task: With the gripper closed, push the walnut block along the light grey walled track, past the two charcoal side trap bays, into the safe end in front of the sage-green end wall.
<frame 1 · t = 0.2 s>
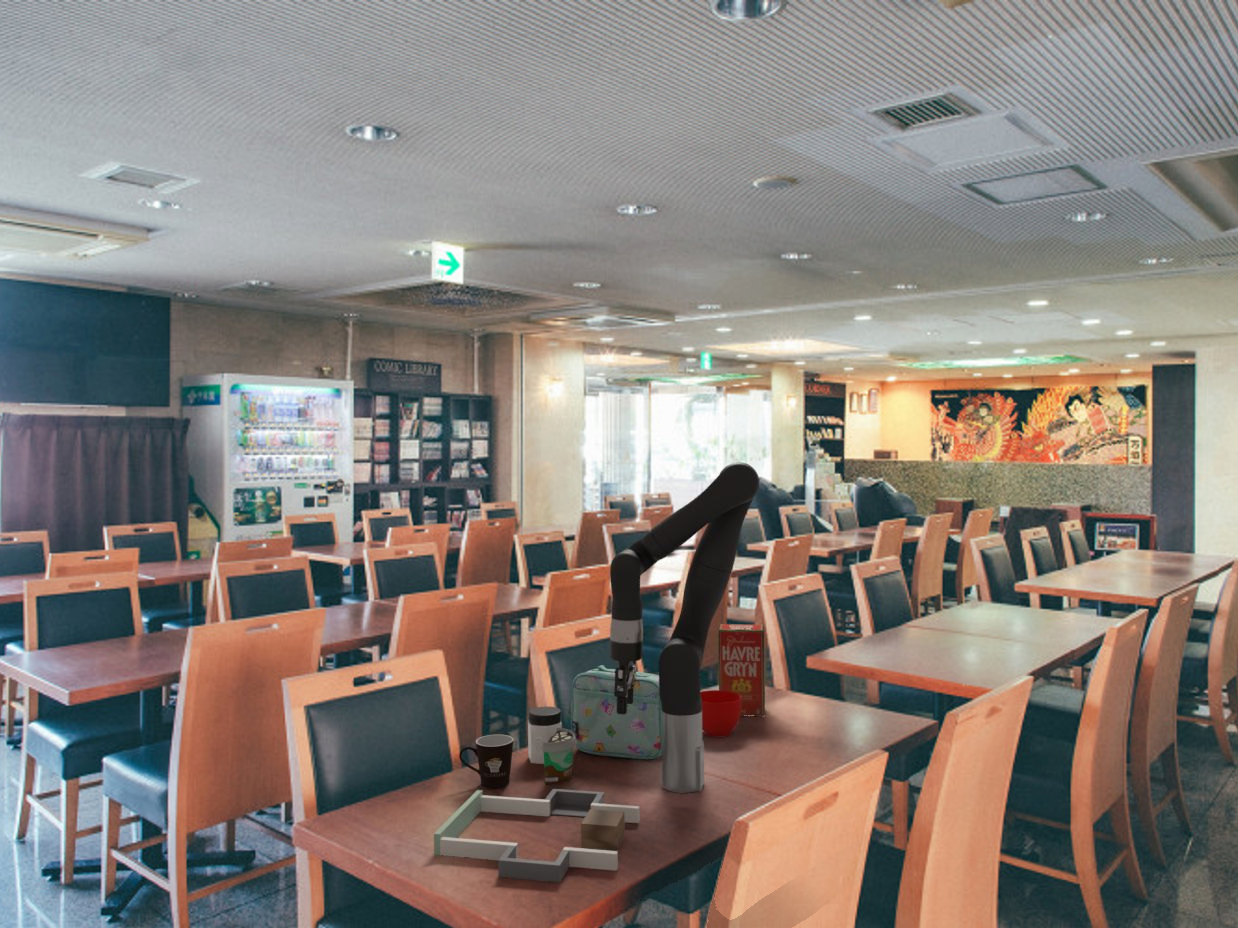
hand: (625, 708, 204), 17 cm above the table, tool pointing down, fingers open, 8 cm apart
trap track: (539, 836, 176), on the table
ceramic cup: (710, 733, 241), on the table
walnut block: (603, 843, 173), on the table
food container: (563, 778, 208), on the table
lunch box: (619, 753, 225), on the table
jar: (545, 759, 221), on the table
coffee mug: (489, 783, 205), on the table
food packaging: (742, 712, 260), on the table
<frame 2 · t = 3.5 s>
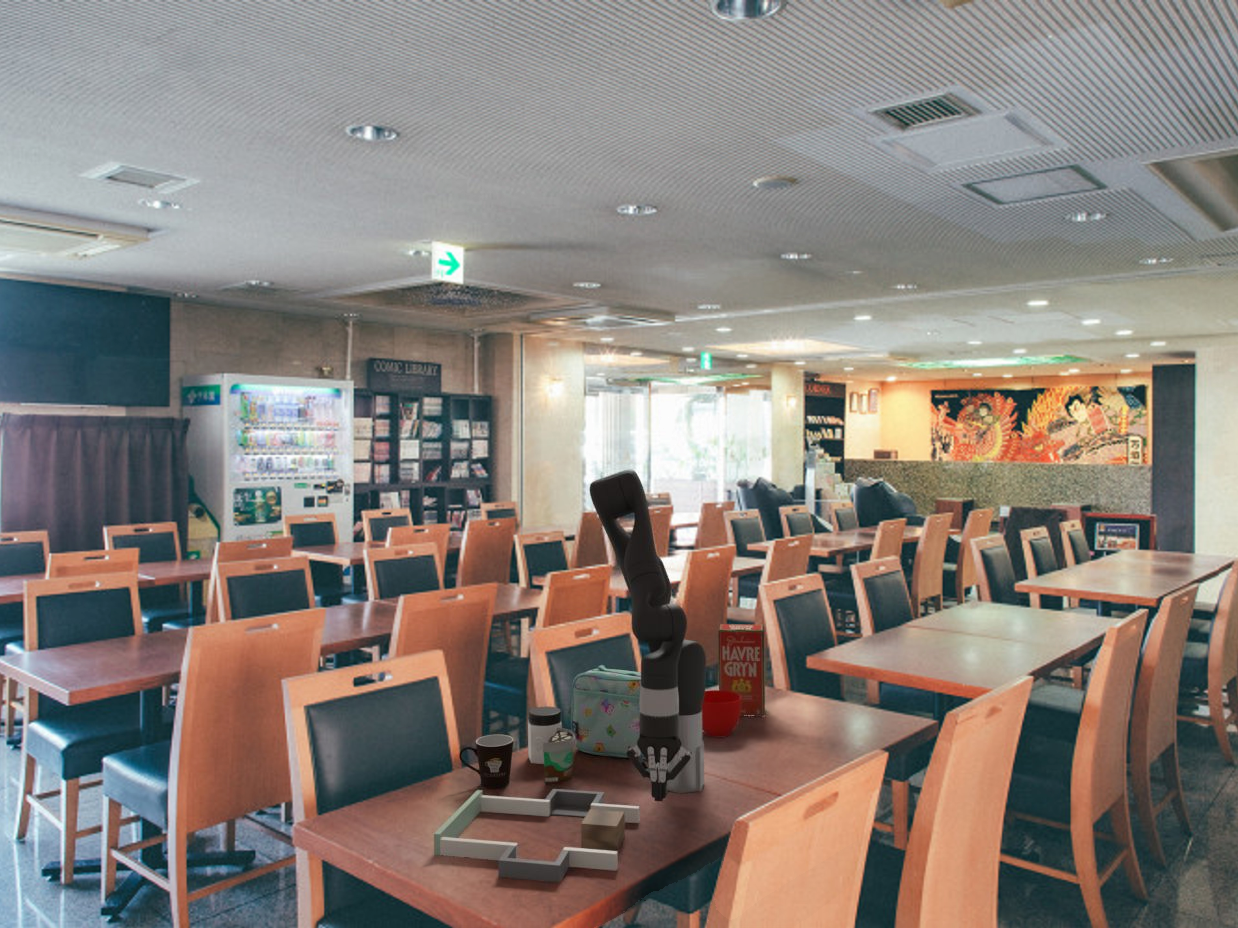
hand: (659, 799, 170), 9 cm above the table, tool pointing down, fingers closed
nothing on the table moved.
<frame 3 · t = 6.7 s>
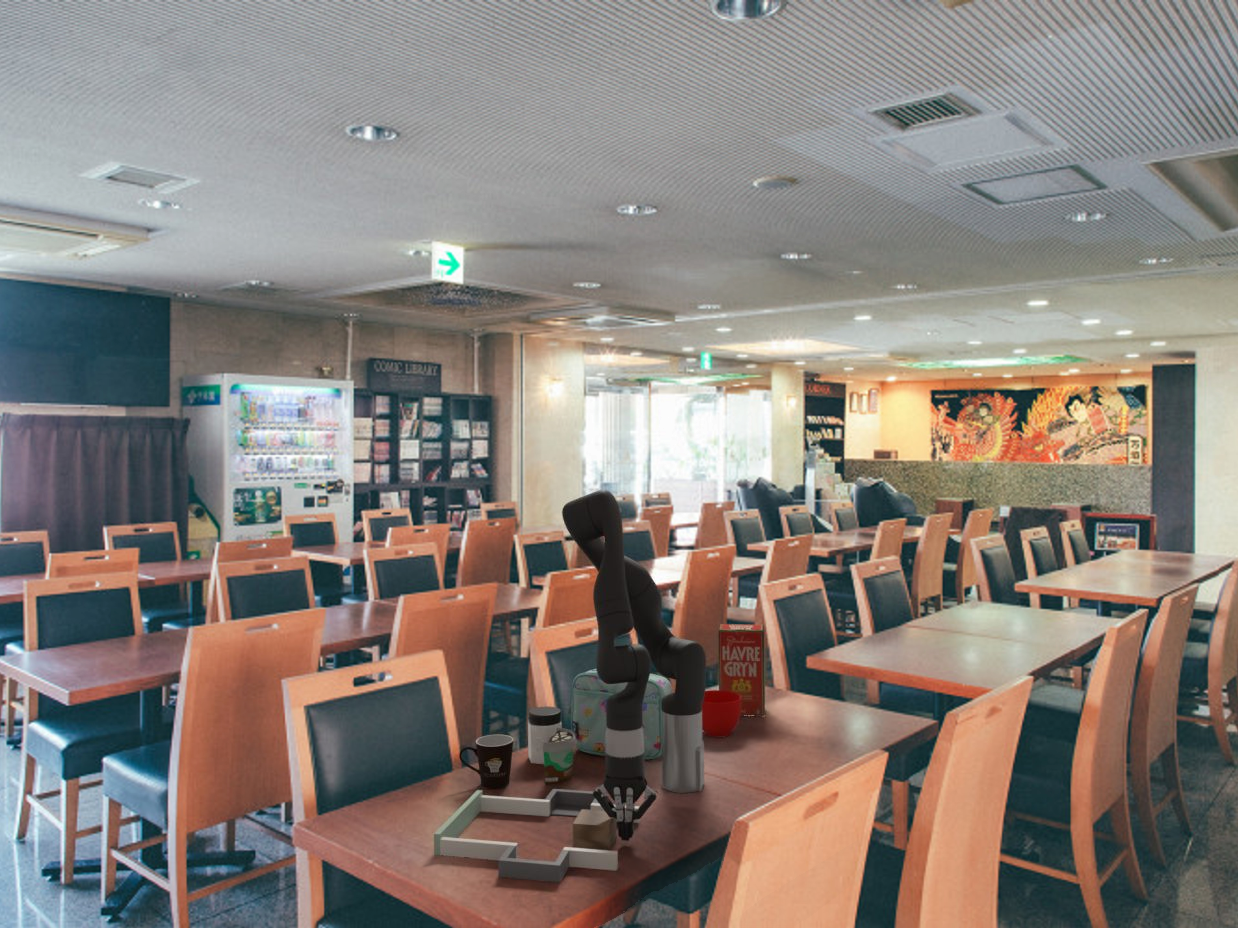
hand: (625, 838, 172), 1 cm above the table, tool pointing down, fingers closed
walnut block: (595, 842, 173), on the table, touching gripper
everything else where it was.
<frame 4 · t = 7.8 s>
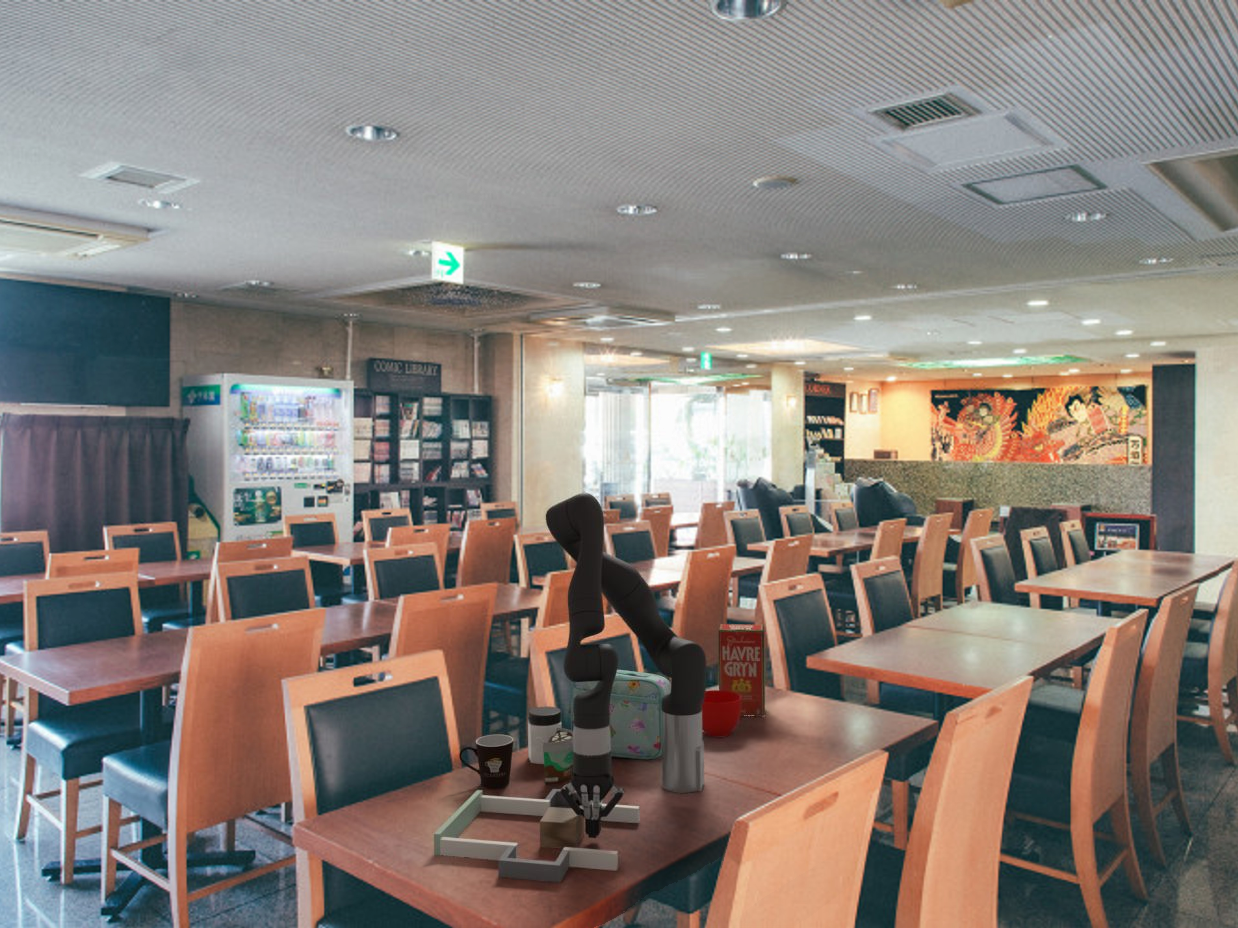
hand: (593, 836, 173), 1 cm above the table, tool pointing down, fingers closed
walnut block: (562, 840, 174), on the table, touching gripper
everything else where it was.
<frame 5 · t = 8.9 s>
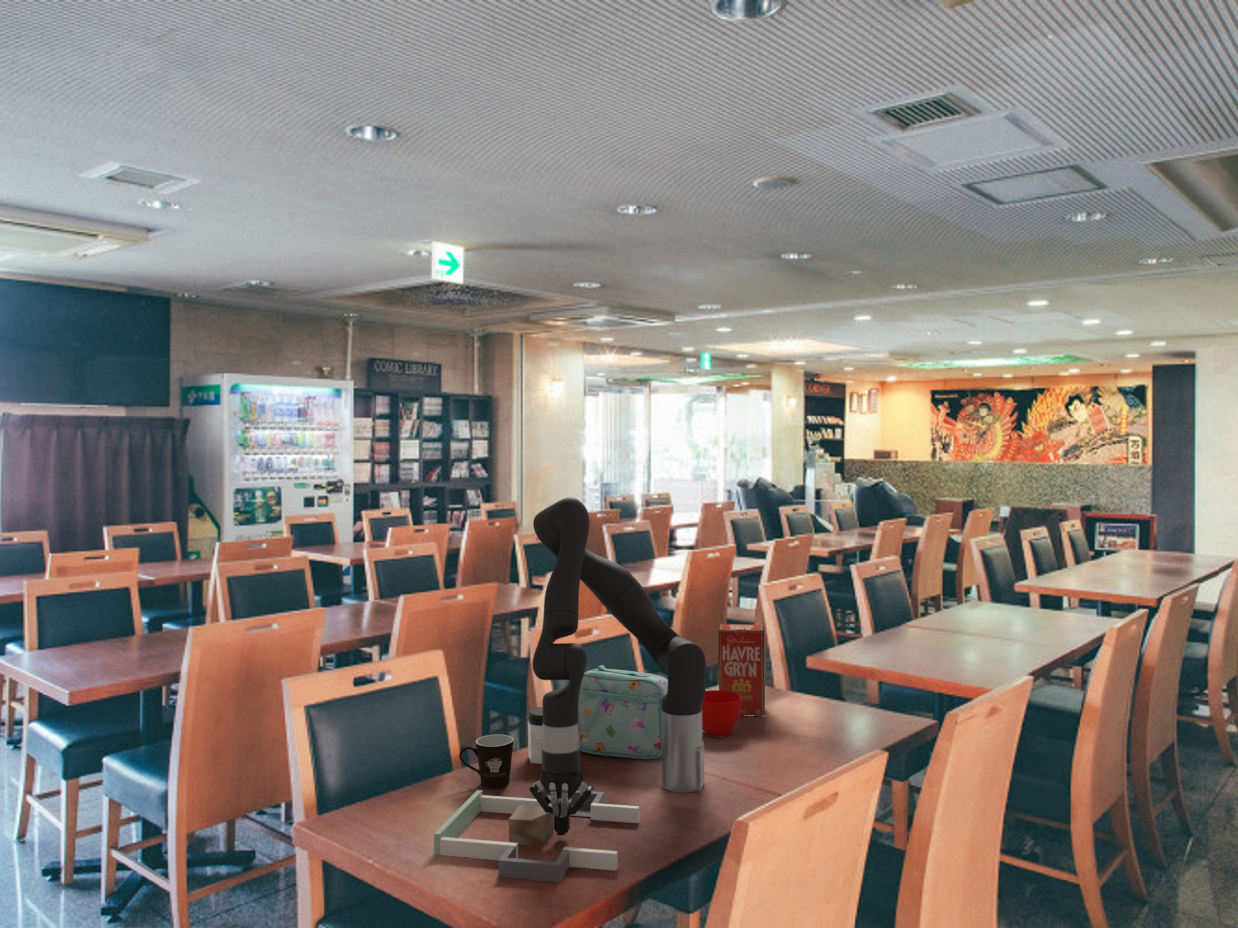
hand: (561, 833, 174), 1 cm above the table, tool pointing down, fingers closed
walnut block: (531, 838, 175), on the table, touching gripper
everything else where it was.
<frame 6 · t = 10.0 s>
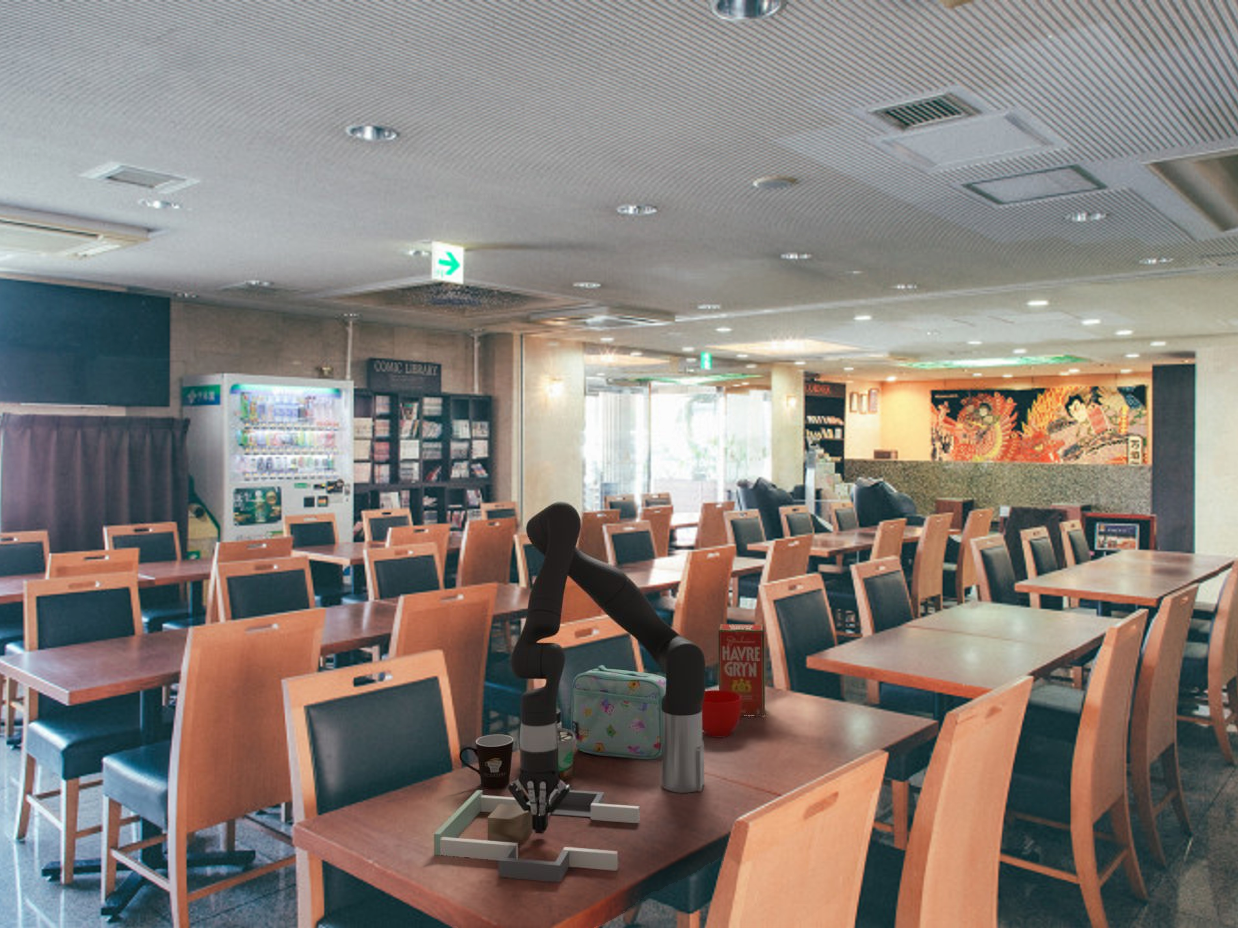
hand: (540, 831, 175), 1 cm above the table, tool pointing down, fingers closed
walnut block: (510, 836, 176), on the table
everything else where it was.
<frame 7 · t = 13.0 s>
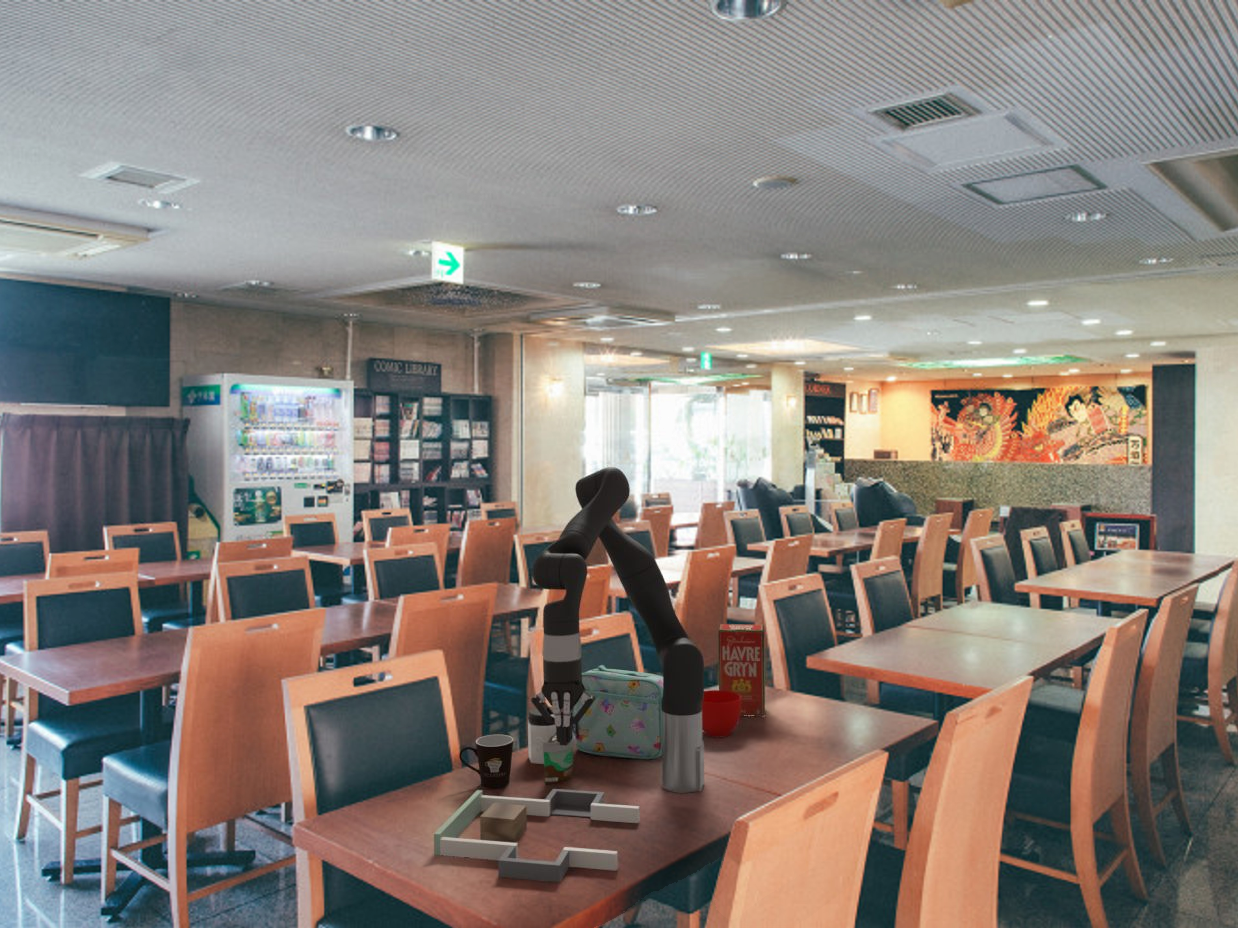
hand: (564, 743, 174), 19 cm above the table, tool pointing down, fingers closed
walnut block: (503, 835, 177), on the table
everything else where it was.
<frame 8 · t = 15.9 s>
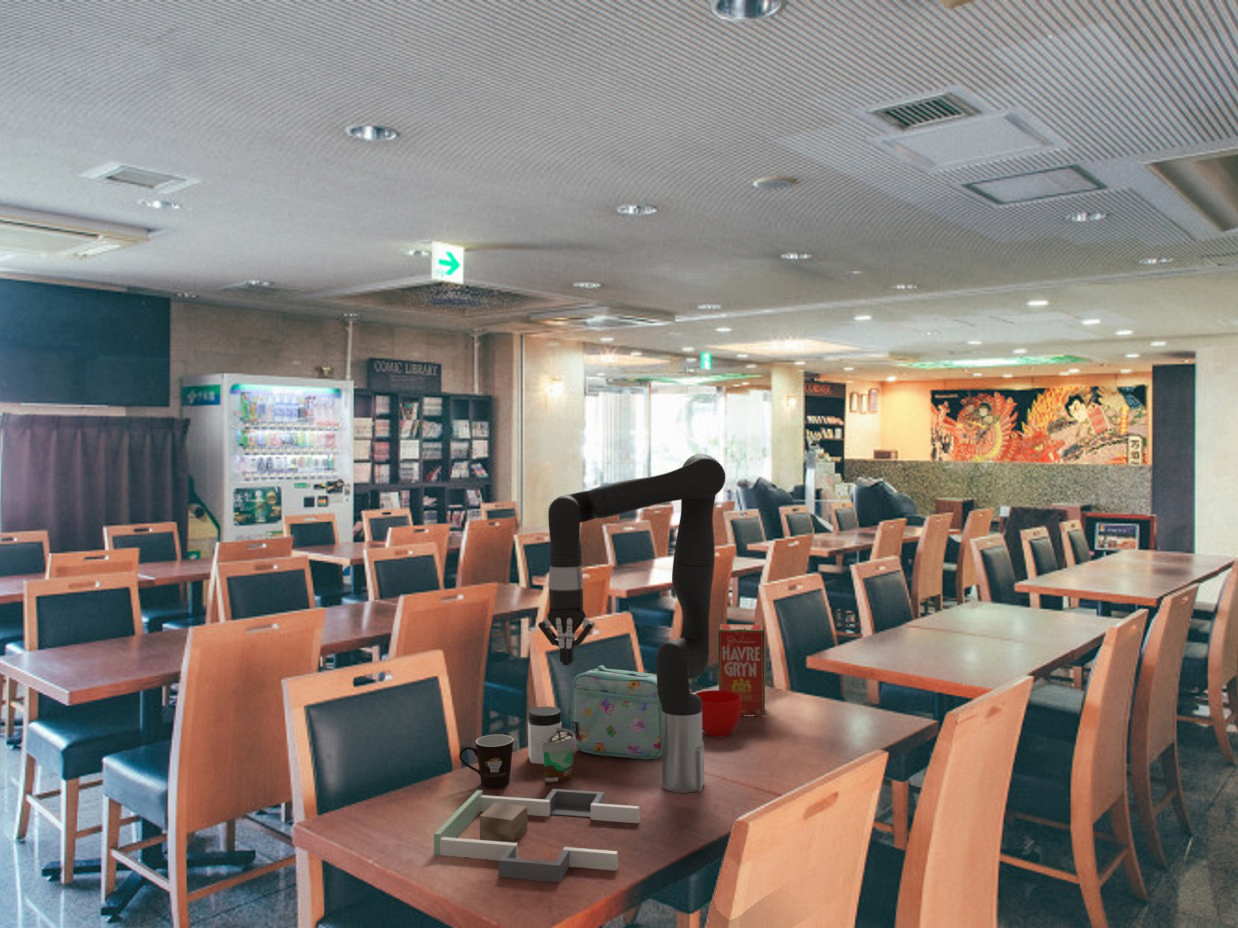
hand: (566, 664, 197), 29 cm above the table, tool pointing down, fingers closed
nothing on the table moved.
at the end: walnut block inside the target area (2.1 cm from its centre), on the table; walnut block tilted 0°; walnut block moved 20.2 cm from its start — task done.
